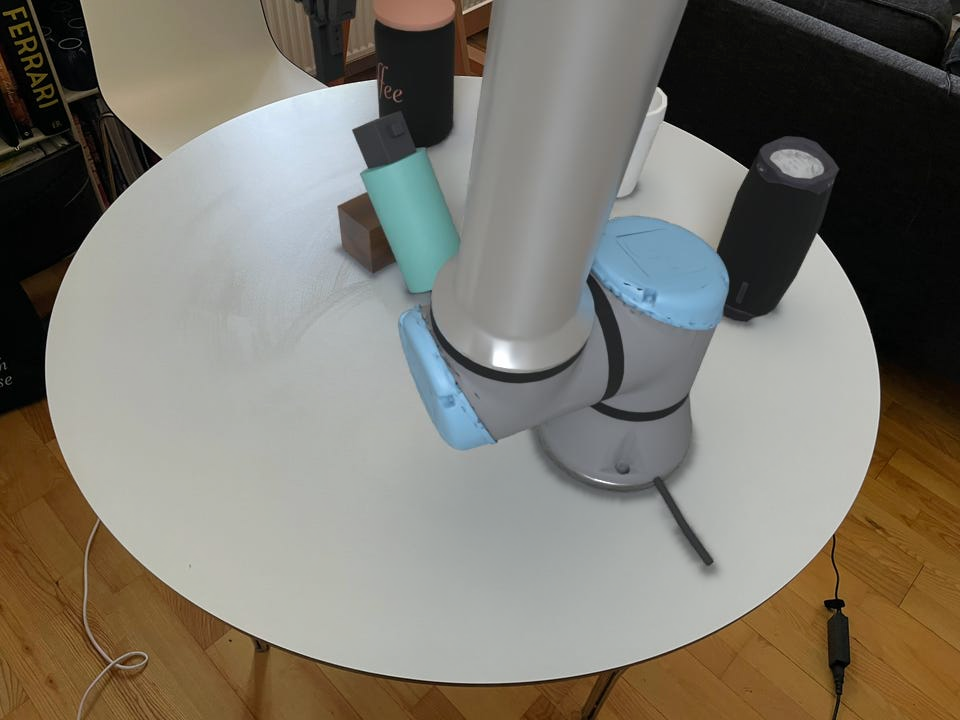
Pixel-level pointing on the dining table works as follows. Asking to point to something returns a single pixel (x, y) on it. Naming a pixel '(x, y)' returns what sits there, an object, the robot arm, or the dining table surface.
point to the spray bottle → (407, 200)
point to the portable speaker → (774, 223)
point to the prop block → (364, 234)
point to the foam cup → (644, 142)
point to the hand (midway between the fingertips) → (331, 77)
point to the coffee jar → (416, 65)
